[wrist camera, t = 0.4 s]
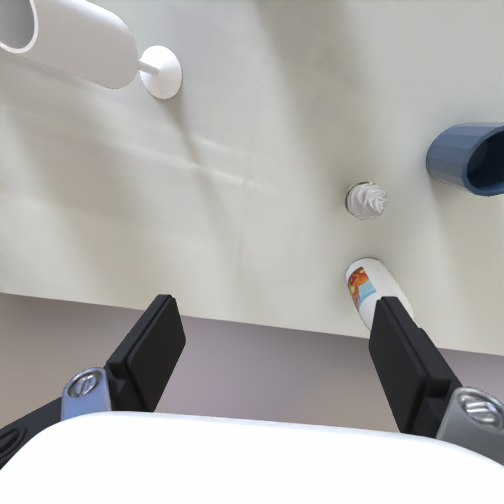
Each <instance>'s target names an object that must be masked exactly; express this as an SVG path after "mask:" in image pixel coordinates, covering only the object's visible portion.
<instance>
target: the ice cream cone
mask: <svg viewBox="0 0 504 504" xmlns="http://www.w3.org/2000/svg"><path fill="white" fill-rule="evenodd" d="M386 203H387V199H386V192H384V191H383V189H382V188H381V187H380V186H378V185H376V184H374V183H372V182H361V183H358V184H355V185H350V186H349V187H348V191H347V194H346V197H345V207H346V209H347V211H348V212H349V213H350V214H352V215H354V216H355V217H357V218H359V219H372V218H375V217H376V216H379V215H381V213H382V212H383V210H384V208H385V207H386Z"/></svg>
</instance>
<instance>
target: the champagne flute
mask: <svg viewBox="0 0 504 504" xmlns="http://www.w3.org/2000/svg"><path fill="white" fill-rule="evenodd" d="M0 47H1V48H3V49H4V50H7V51H9V52H11V53H14V54H17V55H19V56H22V57H25V58H28V59H30V60H33V61H36V62H38V63H41V64H44V65H46V66H49V67H52V68H55V69H57V70H60V71H63V72H65V73H68V74H71V75H73V76H76V77H79V78H82V79H84V80H87V81H90V82H92V83H95V84H98V85H100V86H103V87H106V88H110V89H119V88H122V87H125V86H127V85H128V84H129V83H130V82H131V81H132V80H133V79H134V77H135V75H136V72H137V70H140V75H141V79H142V82H143V84H144V86H145V87H146V89H147V90H148V91H149V92H150V93H151V94H152V95H153V96H155V97H157V98H160V99H168V98H171V97H173V96H174V95H175V94H176V93H177V92H178V90H179V88H180V86H181V82H182V71H181V67H180V64H179V62H178V60H177V58H176V57H175V55H174V54H173V53H172V52H171V51H170V50H168V49H167V48H165V47H162V46H153V47H151V48H149V49H148V50H146V52H145V53H144V54H143V56H142V58H141V60H140V59H138V51H137V46H136V43H135V40H134V38H133V36H132V34H131V32H130V30H129V29H128V28H127V26H126V25H125V24H124V23H123V22H122V20H121V19H120V18H119V17H117V16H116V15H114V14H113V13H111V12H109V11H107V10H105V9H102V8H100V7H98V6H96V5H93V4H91V3H89V2H87V1H85V0H0Z"/></svg>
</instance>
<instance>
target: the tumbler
mask: <svg viewBox="0 0 504 504" xmlns="http://www.w3.org/2000/svg"><path fill="white" fill-rule="evenodd" d="M426 167H427V170H428V172H429V174H430V175H431V176H432V177H433V178H435V179H436V180H439V181H440V182H443V183H445V184H448V185H451V186H453V187H456V188H459V189H461V190H464V191H467V192H470V193H472V194H475V195H481V196H494V195H499V194H503V193H504V123H465V124H459V125H456V126H453V127H451V128H449V129H447V130H445V131H444V132H443V133H441V134H440V135H439V136H438V137H437V138H436V139H435V140H434V142H433V143H432V145H431V146H430V148H429V150H428V153H427V157H426Z"/></svg>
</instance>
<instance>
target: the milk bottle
mask: <svg viewBox="0 0 504 504" xmlns="http://www.w3.org/2000/svg"><path fill="white" fill-rule="evenodd" d="M345 278H346V282H347V285H348V288H349V290H350V293H351V295H352V298H353V301H354V303H355V306H356V308H357V310H358V313H359V315H360V317H361V319H362V321H363V323H364V324H365V326H366V327H367V328H368V329H369V330H370V331H371V328H372V322H373V317H374V311H375V305H376V301H377V300H378V299H379V300H380V299H381V297H382V296H396V297H398V298H399V300H400V301H401V303H402V304H403V306H404V307H405V309H406V310H407V312H408V313H409V315H410V316H411V318H412V319H413V321H414V313H413V309H412V307H411V305H410V303H409V301H408V299H407V298H406V296H405V294H404V293H403V291H402V290H401V288H400V287H399V286H398V284H397V283H396V281H395V280H394V278H393V277H392V276H391V274H390V273H389V271H388V270H387V268H386V267H385V266H384V265H383V264H382V263H381V262H380V261H378V260H375V259H371V258H365V259H360V260H358V261H356V262H354V263H353V264H351V265H350V267H349V268H348V270H347V272H346V276H345Z"/></svg>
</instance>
